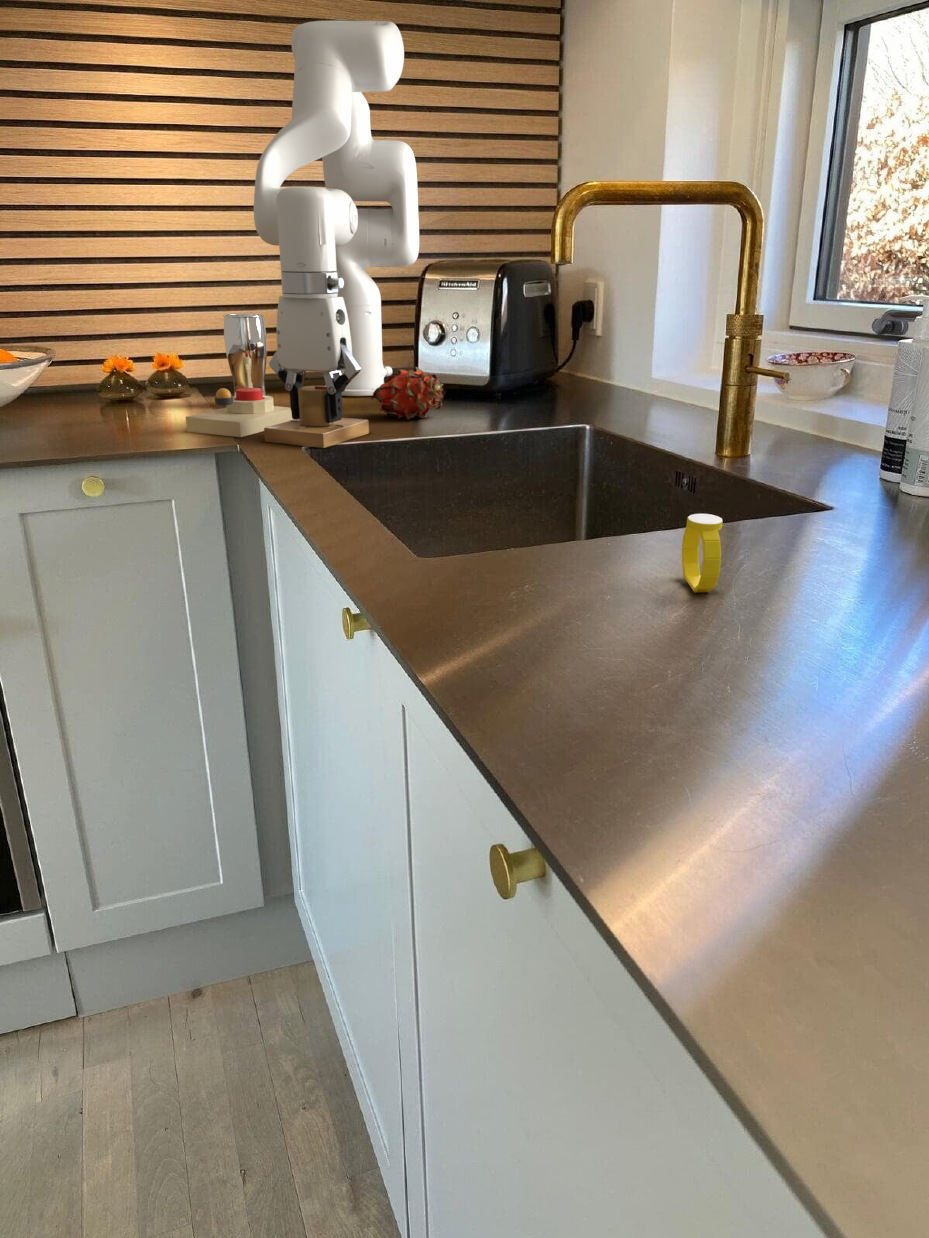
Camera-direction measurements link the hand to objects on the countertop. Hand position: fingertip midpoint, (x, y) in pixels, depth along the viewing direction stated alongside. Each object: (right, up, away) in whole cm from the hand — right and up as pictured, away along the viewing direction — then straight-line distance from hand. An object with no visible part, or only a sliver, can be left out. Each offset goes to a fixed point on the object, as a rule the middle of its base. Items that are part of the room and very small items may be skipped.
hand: (316, 418), depth 135 cm
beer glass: (-16, +8, +27) cm, 32 cm away
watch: (+41, -26, -57) cm, 75 cm away
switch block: (-13, +1, +9) cm, 15 cm away
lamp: (-14, +3, +4) cm, 15 cm away
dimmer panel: (0, -3, +1) cm, 3 cm away
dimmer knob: (0, -1, 0) cm, 1 cm away
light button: (-12, +5, +9) cm, 16 cm away
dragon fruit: (+12, +3, +16) cm, 21 cm away
